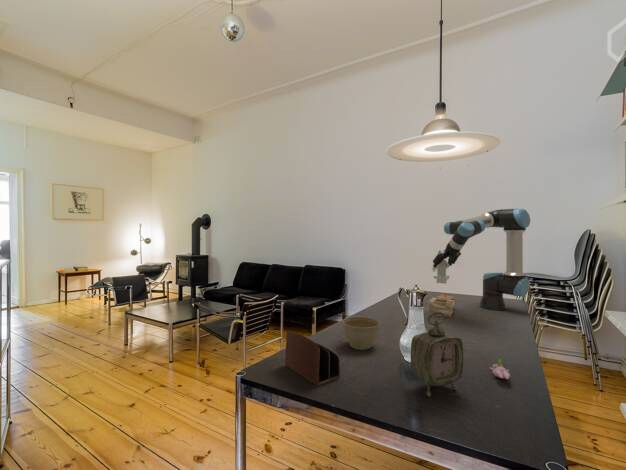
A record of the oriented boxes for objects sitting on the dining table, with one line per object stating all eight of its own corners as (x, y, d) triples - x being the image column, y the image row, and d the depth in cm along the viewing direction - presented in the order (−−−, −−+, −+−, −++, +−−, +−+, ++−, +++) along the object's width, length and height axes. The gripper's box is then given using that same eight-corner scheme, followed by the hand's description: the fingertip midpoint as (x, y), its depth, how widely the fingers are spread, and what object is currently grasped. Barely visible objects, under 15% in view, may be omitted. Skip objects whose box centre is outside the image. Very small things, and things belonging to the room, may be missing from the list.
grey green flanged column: (435, 281, 200) (435, 258, 200) (449, 282, 196) (449, 259, 196) (433, 283, 193) (433, 259, 193) (447, 284, 189) (448, 260, 189)
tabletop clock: (427, 400, 96) (428, 317, 95) (407, 387, 104) (408, 310, 103) (462, 391, 101) (464, 313, 101) (441, 378, 110) (442, 306, 109)
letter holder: (317, 387, 104) (317, 344, 103) (284, 366, 120) (284, 328, 119) (340, 378, 110) (340, 338, 110) (306, 359, 126) (306, 324, 125)
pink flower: (487, 371, 119) (493, 382, 106) (487, 354, 120) (493, 363, 106) (506, 374, 117) (515, 385, 103) (506, 357, 118) (515, 366, 104)
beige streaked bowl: (432, 310, 203) (432, 297, 203) (452, 312, 198) (452, 299, 197) (429, 314, 193) (429, 301, 193) (450, 317, 187) (450, 303, 187)
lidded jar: (438, 310, 203) (438, 295, 203) (435, 306, 213) (435, 292, 213) (456, 311, 201) (456, 296, 201) (452, 307, 212) (452, 293, 211)
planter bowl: (334, 346, 140) (335, 321, 139) (356, 337, 151) (356, 314, 151) (365, 356, 129) (366, 329, 128) (386, 346, 140) (386, 321, 140)
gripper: (467, 240, 186) (449, 265, 203) (437, 240, 183) (421, 265, 199) (473, 250, 181) (454, 274, 198) (442, 250, 178) (426, 275, 194)
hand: (438, 270), depth 198 cm, fingers closed on grey green flanged column, 6 cm apart
